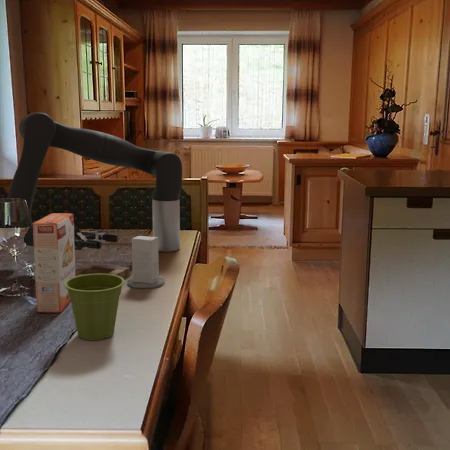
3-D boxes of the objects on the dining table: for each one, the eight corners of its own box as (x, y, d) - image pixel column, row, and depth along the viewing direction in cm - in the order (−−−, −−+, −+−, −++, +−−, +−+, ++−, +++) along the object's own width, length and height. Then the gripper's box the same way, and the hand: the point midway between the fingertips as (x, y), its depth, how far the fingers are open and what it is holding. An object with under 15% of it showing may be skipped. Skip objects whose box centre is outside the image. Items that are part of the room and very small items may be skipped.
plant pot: (70, 350, 100) (68, 293, 98) (63, 328, 111) (60, 276, 108) (132, 340, 105) (131, 286, 102) (119, 320, 115) (117, 270, 113)
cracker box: (62, 313, 119) (58, 222, 115) (35, 313, 119) (30, 222, 115) (78, 294, 133) (74, 212, 129) (54, 294, 133) (49, 212, 129)
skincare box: (159, 279, 143) (158, 237, 141) (152, 284, 139) (151, 240, 137) (139, 277, 145) (138, 235, 143) (131, 281, 141) (130, 238, 139)
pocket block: (90, 271, 153) (90, 263, 153) (129, 275, 149) (129, 267, 148) (62, 283, 141) (62, 275, 141) (105, 289, 137) (104, 280, 136)
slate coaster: (138, 276, 149) (138, 274, 148) (170, 280, 145) (170, 277, 145) (120, 286, 139) (120, 284, 139) (154, 290, 136) (154, 288, 136)
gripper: (42, 228, 142) (94, 233, 137) (73, 219, 155) (122, 223, 150) (43, 255, 143) (95, 261, 138) (74, 244, 156) (122, 249, 151)
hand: (109, 241), depth 144 cm, fingers open, 8 cm apart
